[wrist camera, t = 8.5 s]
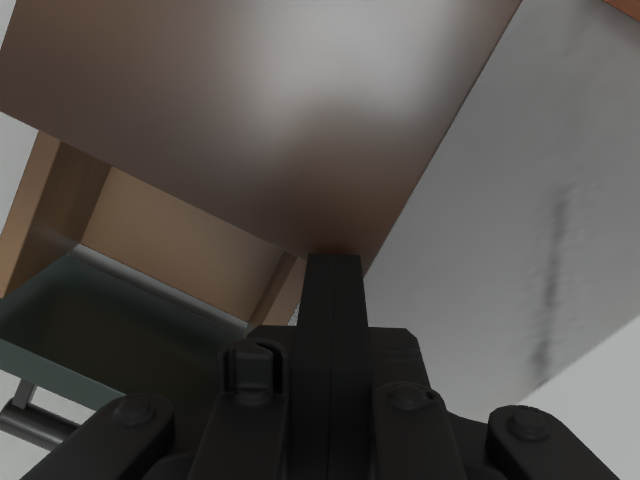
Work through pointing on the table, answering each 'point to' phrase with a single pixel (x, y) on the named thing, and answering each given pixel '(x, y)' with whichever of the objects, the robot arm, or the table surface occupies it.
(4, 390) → the table surface
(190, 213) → the drawer
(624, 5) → the block
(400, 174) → the cabinet
